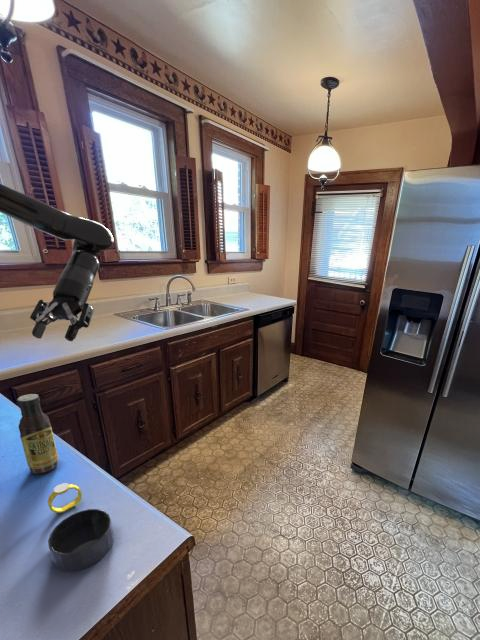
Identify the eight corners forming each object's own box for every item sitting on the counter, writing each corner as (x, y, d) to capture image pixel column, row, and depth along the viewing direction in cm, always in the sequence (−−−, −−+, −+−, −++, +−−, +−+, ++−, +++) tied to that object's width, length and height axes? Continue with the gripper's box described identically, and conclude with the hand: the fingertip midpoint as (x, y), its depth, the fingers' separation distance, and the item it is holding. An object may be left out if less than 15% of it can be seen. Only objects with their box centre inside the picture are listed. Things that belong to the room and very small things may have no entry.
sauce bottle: (35, 478, 76) (13, 407, 68) (25, 468, 79) (2, 398, 71) (65, 464, 81) (47, 397, 73) (54, 455, 84) (36, 389, 76)
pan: (40, 562, 57) (34, 545, 55) (84, 520, 66) (80, 504, 64) (85, 578, 55) (80, 561, 53) (125, 532, 64) (121, 516, 62)
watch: (81, 497, 72) (75, 476, 69) (85, 503, 70) (80, 483, 68) (50, 511, 67) (43, 490, 65) (54, 519, 66) (47, 498, 63)
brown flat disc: (28, 472, 78) (28, 471, 78) (47, 460, 82) (46, 459, 82) (44, 476, 77) (44, 475, 77) (62, 464, 81) (62, 463, 81)
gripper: (39, 275, 81) (13, 328, 75) (91, 278, 81) (69, 333, 74) (59, 292, 88) (36, 343, 82) (107, 296, 88) (88, 347, 81)
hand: (52, 338), depth 78 cm, fingers open, 8 cm apart
